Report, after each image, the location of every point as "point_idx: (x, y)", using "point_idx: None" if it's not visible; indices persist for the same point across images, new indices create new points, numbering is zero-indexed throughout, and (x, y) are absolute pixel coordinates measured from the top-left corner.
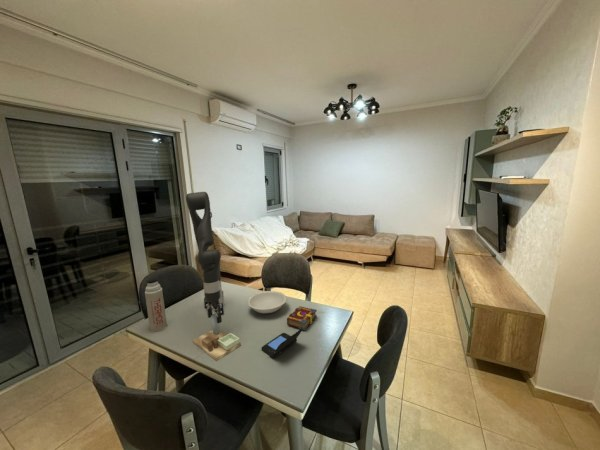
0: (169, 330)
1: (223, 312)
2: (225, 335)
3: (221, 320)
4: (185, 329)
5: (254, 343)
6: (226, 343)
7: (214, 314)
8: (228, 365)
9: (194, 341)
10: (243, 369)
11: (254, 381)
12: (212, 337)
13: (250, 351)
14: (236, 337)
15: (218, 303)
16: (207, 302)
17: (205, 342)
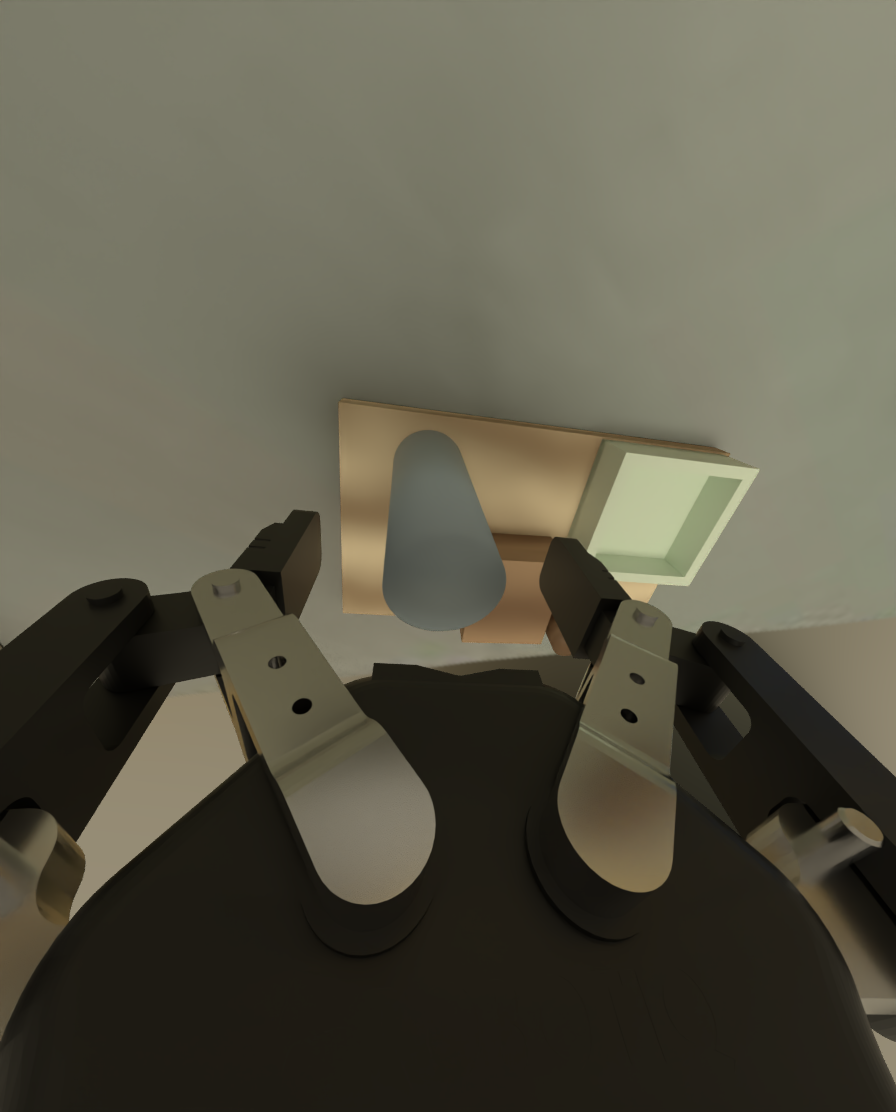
0: (25, 615)
1: (771, 670)
2: (532, 444)
3: (602, 567)
4: (99, 547)
5: (832, 359)
6: (624, 524)
7: (413, 571)
8: (711, 603)
9: (369, 613)
10: (809, 583)
11: (887, 602)
12: (522, 591)
13: (817, 458)
14: (724, 475)
15: (869, 1006)
16: (59, 787)
17: (517, 642)
